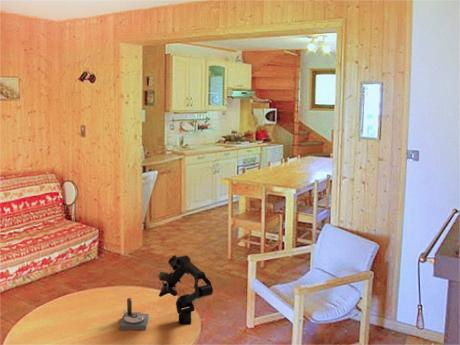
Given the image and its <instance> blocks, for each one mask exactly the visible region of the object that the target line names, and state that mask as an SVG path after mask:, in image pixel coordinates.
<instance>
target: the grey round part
mask: <svg viewBox="0 0 460 345" xmlns="http://www.w3.org/2000/svg"><path fill="white" fill-rule="evenodd" d="M126 300H127V301H126V308H127V309H126V315H125V316H124V321H125V322H126V323H130V324H137V323H140V322H142V321H144V319H145V316H144V314H145V313H142V312H139V311H133V310H132V309H133V308H132V307H133V306H132V305H133V304H132V302H133V301H132V298H131V297H129V298H127V299H126Z"/></svg>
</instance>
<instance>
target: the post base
mask: <svg viewBox="0 0 460 345" xmlns="http://www.w3.org/2000/svg"><path fill="white" fill-rule="evenodd" d="M126 312H127V309H125V308H124V309H123V314H122V318H121V320H120V322H119V326H118V327H119V331H121V330H122V331H146V329H147V326H148V322H149V318H150V317H149V316H150V315H149V313H143V314H144V316H145V319H144V321H142V322H140V323H137V324H130V323H126V322H125V321H124V316H125V315H126Z"/></svg>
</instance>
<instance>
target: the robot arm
mask: <svg viewBox="0 0 460 345" xmlns="http://www.w3.org/2000/svg"><path fill="white" fill-rule="evenodd" d="M167 263H168V265H169V266H170V268H171V269H172V270H173V272H172V271H171V272H169V273H168V272H163V271H160V272H159V274H158V279H159V281H162V282H161V284H162V287H161V290H160V291H159V294H158V297H160V298H162V297H164V296H166V295H169V294H170V295H172V296H173V297H174V298H175V297H176V296H177V295H178V291H177V288H176V287H177V284H178V283H181V282H182V278H183V277H184V276H185V275H190V276H192V277H193V278H194V285H193V287H194V288H193V289H194V292H192V293H191V294H190V293H189V294H182V295H181V296H179V297H177V299H176V302H175V306H176V307H175V308H176V312H177V314H178V322H179V323H178V324H179V325H191V324H192V313H193V312H194V311H195V308H196V307H195V306H194V302H196V301H198V300H200V299H202V298H206V297H210V296H212V295H213V292H214V289H213V288H214V287H213V286H212V283H211V281H210V280H209V278H208V277H207V276H206V273H205V272H204V271H202V270H201V269H199V268H198V267H197V266H196V265H195V264H194V263H192V262H191V258H190V257H189V256H188V255H186V254H185V255H182V256H180V255H179V256H177V255H175V254H174V255H172V256H171V257H170V258H169V260H167ZM199 280H202V281H203V282H204V283H205V285H200V286H199V285H198V284H199Z"/></svg>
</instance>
